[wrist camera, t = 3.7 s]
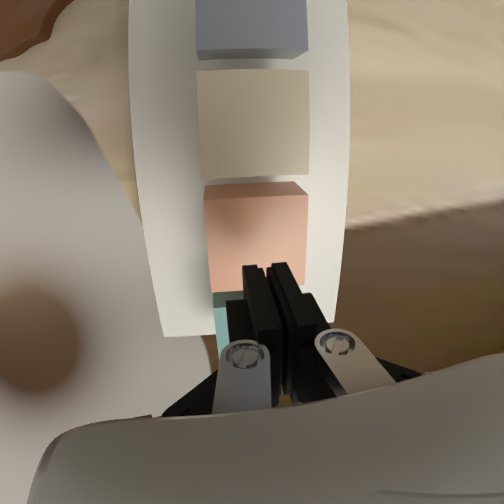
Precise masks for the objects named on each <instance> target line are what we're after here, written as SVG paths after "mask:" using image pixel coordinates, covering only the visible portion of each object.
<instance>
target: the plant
mask: <svg viewBox="0 0 504 504" xmlns="http://www.w3.org/2000/svg"><path fill="white" fill-rule="evenodd" d="M72 1H74V0H0V62H1V61H3V60H5V59H10V58H14V57H17V56H19V55H21V54H23V53H24V52H25V51H27V50H28V49H29V48H31V47H32V46H34V45H36V44H39V43H41V42H44V41H47V40H48V39H49V38H50V36H51V33H52V29H53V25H54V23H55V21H56V19H57V17H58V16H59V14H60V13H61V12H62V11H63V10H64V9H65V7H66V6H68V5H69V4H70V3H71V2H72Z"/></svg>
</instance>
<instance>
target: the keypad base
mask: <svg viewBox="0 0 504 504" xmlns="http://www.w3.org/2000/svg"><path fill="white" fill-rule="evenodd" d="M306 6H307V26H308V51H307V52H305V53H303V54H301V55H300V56H298V57H296V58H294V59H259V58H253V59H216V60H200V61H199V59H198V56H197V52H196V21H195V0H129V15H128V68H129V95H130V113H131V127H132V140H133V151H134V161H135V170H136V179H137V188H138V196H139V203H140V211H141V218H142V224H143V231H144V237H145V243H146V249H147V255H148V261H149V266H150V272H151V277H152V282H153V288H154V292H155V297H156V302H157V306H158V311H159V316H160V321H161V325H162V330H163V334H164V337H175V336H194V335H210V334H216V329H215V321H214V311H213V293H211V283H210V273H209V262H208V251H207V240H206V228H205V216H204V203H203V198H204V189H205V186H208V185H223V184H239V183H259V182H284V181H294V182H295V183H296V184H297V185H299V186H300V187H301V188H302V189H303V190H304V191H305V192H306V193H307V194H308V195H309V197H308V225H307V247H306V266H305V283H304V285H298V286H299V288H300V290H301V292H302V293H309V292H310V293H312V295H313V296H314V298H315V300H316V302H317V304H318V306H319V308H320V309H321V311H322V313H323V315H324V317H325V319H326V321H327V323H329V322H334V316H335V309H336V302H337V294H338V286H339V278H340V269H341V260H342V250H343V240H344V229H345V217H346V203H347V188H348V170H349V145H350V55H349V32H348V15H347V1H346V0H306ZM230 69H288V70H309V100H310V146H309V175H277V176H252V177H233V178H217V179H202V175H201V159H200V142H199V122H198V100H197V72H196V71H210V70H230Z"/></svg>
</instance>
